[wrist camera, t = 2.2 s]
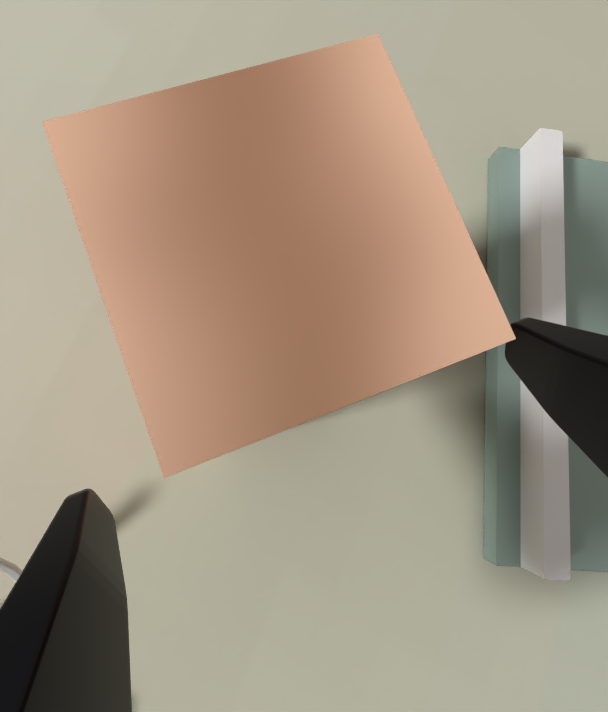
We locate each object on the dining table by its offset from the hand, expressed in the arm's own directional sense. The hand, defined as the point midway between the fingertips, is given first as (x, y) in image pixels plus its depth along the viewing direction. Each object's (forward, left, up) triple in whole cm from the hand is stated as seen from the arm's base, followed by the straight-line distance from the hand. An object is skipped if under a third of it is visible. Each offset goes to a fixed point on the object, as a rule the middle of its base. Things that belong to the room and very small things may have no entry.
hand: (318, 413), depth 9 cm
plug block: (+2, -2, -10) cm, 10 cm away
